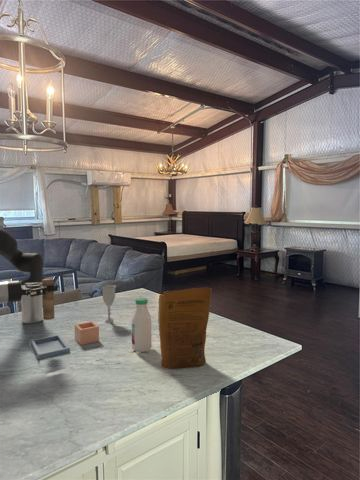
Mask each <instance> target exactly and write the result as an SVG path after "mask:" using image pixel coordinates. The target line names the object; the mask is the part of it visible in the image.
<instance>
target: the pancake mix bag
mask: <svg viewBox="0 0 360 480" xmlns="http://www.w3.org/2000/svg"><path fill="white" fill-rule="evenodd" d="M212 290H213V289H212V288H210V287H193V288H192V287H191V288H186V289H179V290H176V289H175V290H166V291H162V294H159V295H158V321H157V322H158V333H159V343H160V344H159V345H160V356H161V361H160V367H162V368H164V369H166V368H167V370H179V369H186V368H187V369H188V368H199V367H202V366H204V365H205V364H206V362H207V361H206V354H205V348H206V347H205V346H206V342H207V327H208V322H209V315H210V309H211V304H212V303H211V302H212Z"/></svg>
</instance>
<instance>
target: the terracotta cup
mask: <svg viewBox="0 0 360 480" xmlns="http://www.w3.org/2000/svg"><path fill="white" fill-rule="evenodd" d="M99 329H100V326H99V325H97V324H96V322H94V321H92V320H91V321H87V322H82V323H81V322H80V323H76V324H74V339H75V340H76V342H77V343H78V344H79V345H80V346H82V345H86V344H91V343H95V342H99V341H100V330H99Z"/></svg>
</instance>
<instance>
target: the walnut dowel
mask: <svg viewBox="0 0 360 480" xmlns="http://www.w3.org/2000/svg"><path fill="white" fill-rule="evenodd" d="M53 283H54V278H42V286H50V285H53ZM42 291H43V289H42ZM42 314H43V320H44V321H49V320H53V319H55V291H51V292H47V293H46V294H43V295H42Z"/></svg>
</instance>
